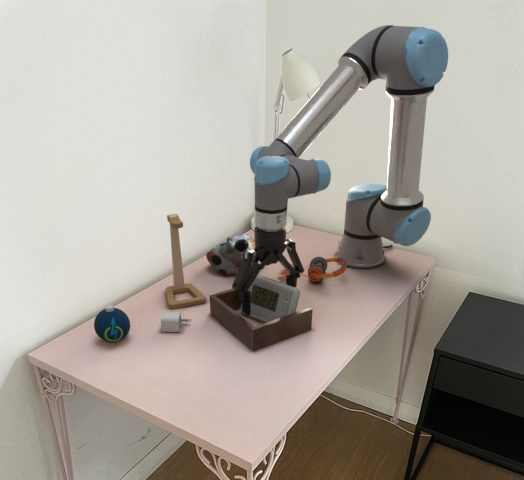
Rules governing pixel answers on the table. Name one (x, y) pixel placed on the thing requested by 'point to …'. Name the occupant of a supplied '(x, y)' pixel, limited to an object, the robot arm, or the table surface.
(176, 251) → the headphone stand
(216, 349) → the table surface
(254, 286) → the digital clock
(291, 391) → the table surface
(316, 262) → the headphones
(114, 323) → the christmas ornament
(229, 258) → the spotted toy animal
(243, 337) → the walnut rack
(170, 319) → the usb wall charger
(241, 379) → the table surface
